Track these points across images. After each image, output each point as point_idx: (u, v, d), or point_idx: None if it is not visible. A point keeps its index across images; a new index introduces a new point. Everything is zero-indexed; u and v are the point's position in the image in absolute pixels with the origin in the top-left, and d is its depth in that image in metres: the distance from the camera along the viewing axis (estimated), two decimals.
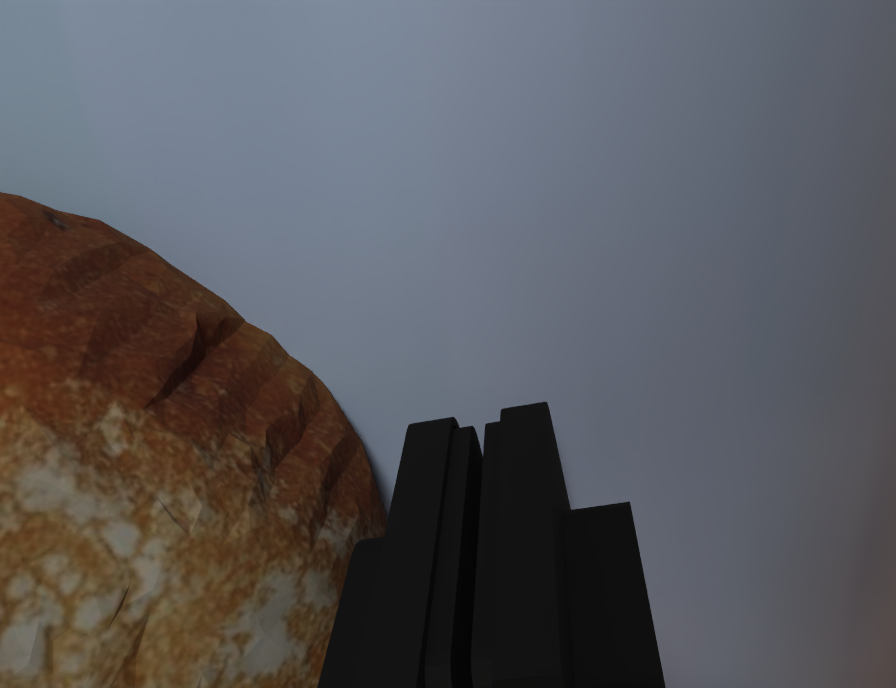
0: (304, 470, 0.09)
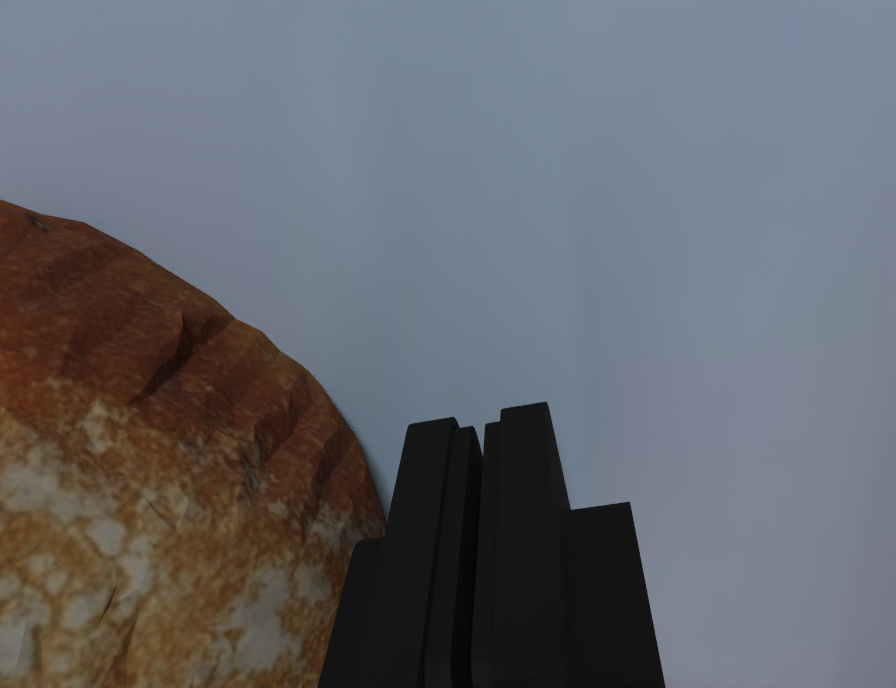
0: (294, 464, 0.09)
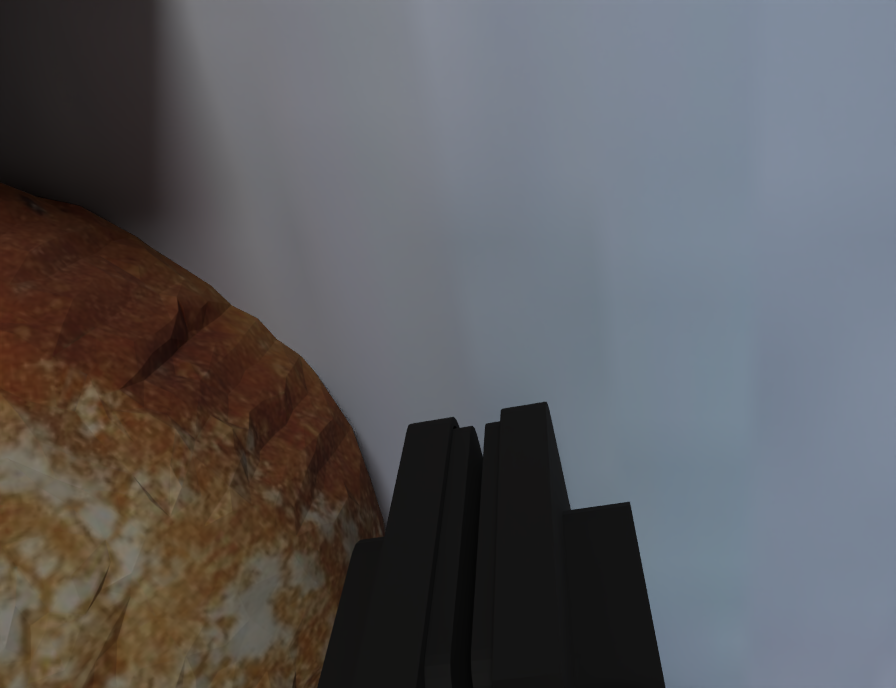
0: (290, 453, 0.09)
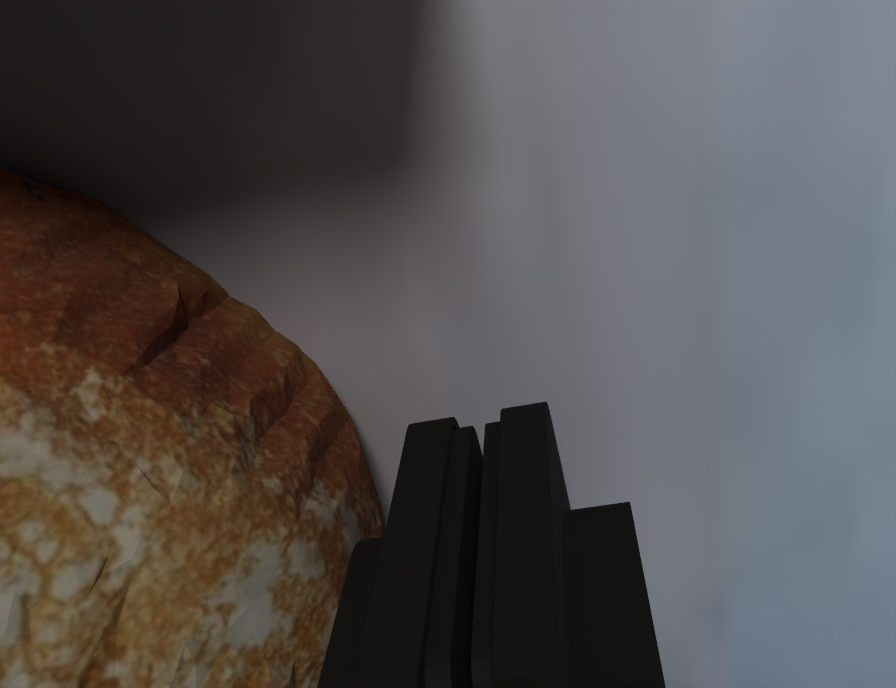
0: (290, 441, 0.09)
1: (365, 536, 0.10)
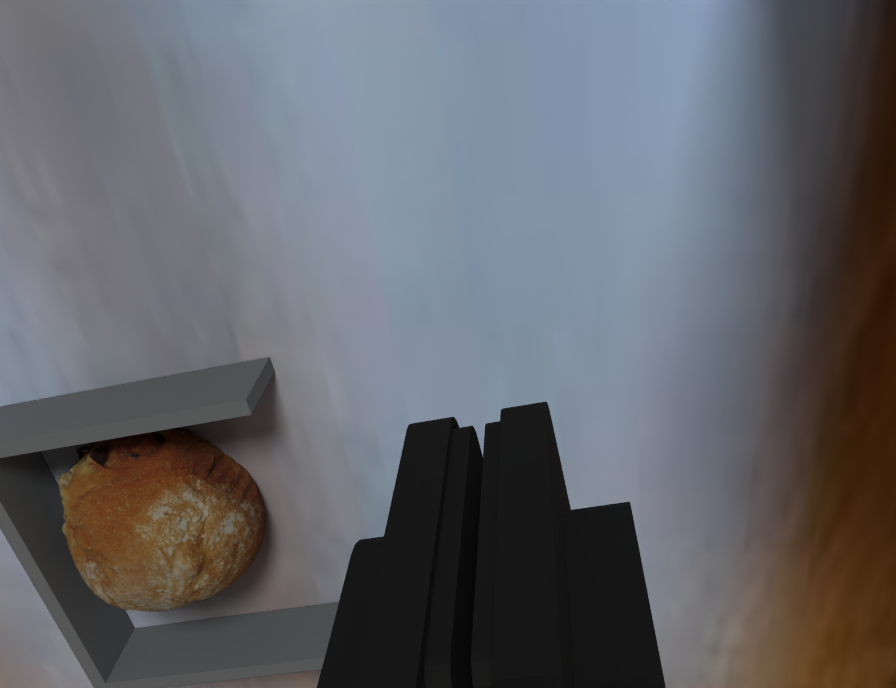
0: (238, 491, 0.42)
1: (256, 512, 0.43)
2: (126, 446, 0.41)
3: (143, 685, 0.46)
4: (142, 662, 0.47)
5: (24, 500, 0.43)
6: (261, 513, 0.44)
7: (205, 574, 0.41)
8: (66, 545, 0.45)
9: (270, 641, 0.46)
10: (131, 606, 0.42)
